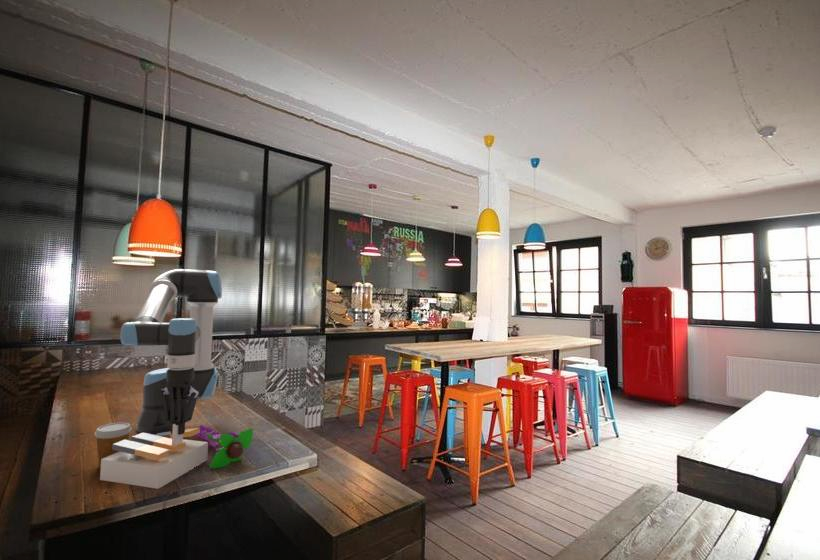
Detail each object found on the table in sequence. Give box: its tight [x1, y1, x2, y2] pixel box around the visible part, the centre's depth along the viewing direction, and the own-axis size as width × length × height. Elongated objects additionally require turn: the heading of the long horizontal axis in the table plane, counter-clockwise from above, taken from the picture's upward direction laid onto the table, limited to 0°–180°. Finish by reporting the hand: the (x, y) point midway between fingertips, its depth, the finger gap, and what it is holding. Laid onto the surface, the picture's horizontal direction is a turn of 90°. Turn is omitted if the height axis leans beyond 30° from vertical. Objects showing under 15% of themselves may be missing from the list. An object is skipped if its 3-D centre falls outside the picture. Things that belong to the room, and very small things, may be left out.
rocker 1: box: [112, 439, 169, 460], centre depth 119 cm, size 16×4×2 cm, turn 79°
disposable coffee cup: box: [94, 422, 133, 469], centre depth 127 cm, size 10×10×12 cm
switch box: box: [99, 438, 209, 489], centre depth 125 cm, size 20×20×8 cm
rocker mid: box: [130, 432, 185, 452], centre depth 125 cm, size 16×4×2 cm, turn 79°
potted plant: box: [194, 424, 254, 469], centre depth 140 cm, size 12×16×35 cm
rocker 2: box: [154, 427, 200, 439], centre depth 132 cm, size 16×4×2 cm, turn 79°
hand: (177, 444), depth 124 cm, fingers closed
